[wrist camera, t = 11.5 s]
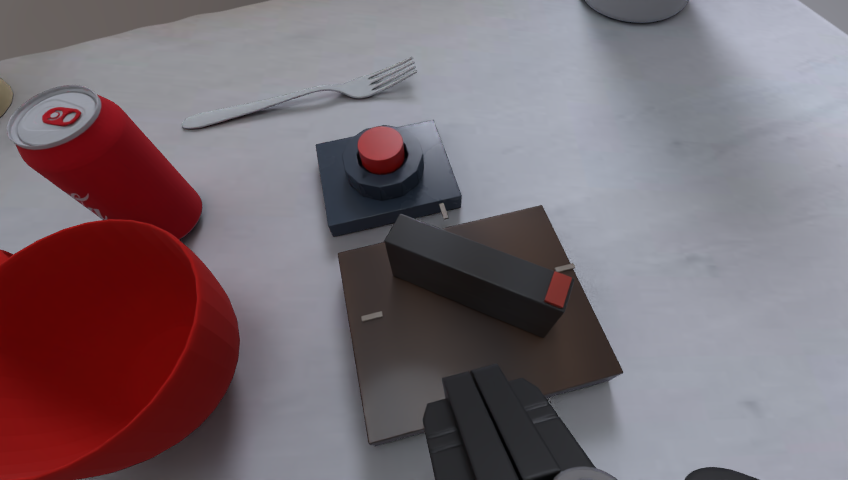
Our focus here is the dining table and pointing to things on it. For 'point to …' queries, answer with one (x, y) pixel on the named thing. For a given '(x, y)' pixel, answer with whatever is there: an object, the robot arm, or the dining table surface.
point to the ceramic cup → (107, 349)
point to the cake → (5, 96)
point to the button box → (386, 181)
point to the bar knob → (478, 275)
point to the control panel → (462, 330)
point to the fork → (351, 88)
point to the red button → (381, 150)
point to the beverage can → (102, 159)
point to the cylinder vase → (638, 9)
